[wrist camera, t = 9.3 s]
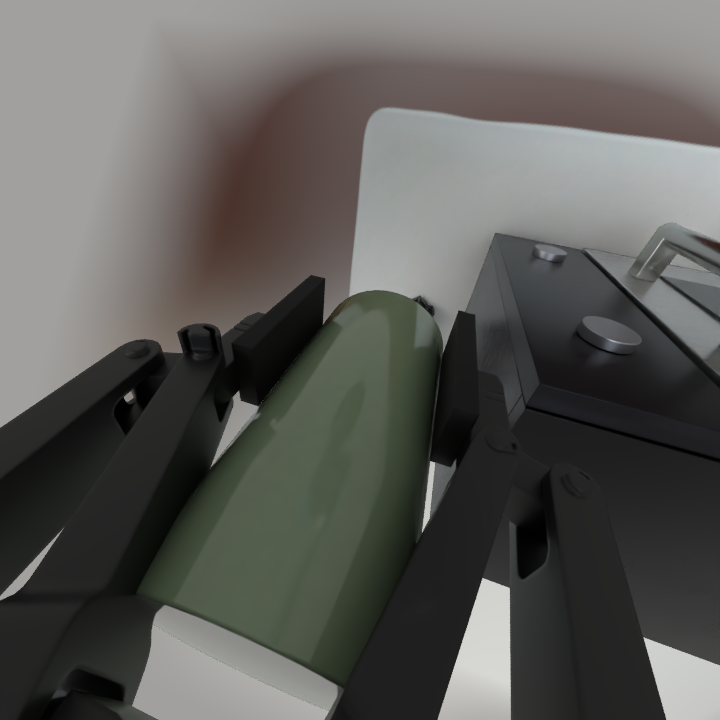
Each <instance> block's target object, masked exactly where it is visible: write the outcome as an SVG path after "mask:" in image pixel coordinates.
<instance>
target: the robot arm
mask: <svg viewBox="0 0 720 720" xmlns="http://www.w3.org/2000/svg"><path fill="white" fill-rule="evenodd" d="M324 290H325V278H321V277H317V276H313V275H311V276H310V277H308V278H307V279H306V280H305V281H304V282H302V283H301V284H300V285H299V286H298V287H297V288H295V289H294V290H293V291H292V292H291V293H289V294H288V295H287V296H286V297H285V298H284V299H283V300H281V301H280V302H279V303H278V304H277V305H275V306H274V307H273V308H272V309H271V310H270V311H268V312H267V313H266V314H263V313H259V312H257V313H255V314H252V315H250V316H247V317H246V318H244V319H243V320H242V321H241V322H240V323H239V324H237V325H236V326H234V328H233V329H231V330H229V331H228V332H227V333H225V334H224V335H223V336H222V337H221V334H220V331H219V329H218V328H217V327H216V326H214V325H211V324H204V323H203V324H193V325H189V326H186V327H184V328H182V329H181V330H179V331H178V332H177V333H178V337H179V340H180V344H181V347H182V350H183V353H166V352H163V351H162V348H161V346H160V345H159V343H158V342H156V341H153V340H146V339H144V340H135V341H132V342H128V343H126V344H124V345H122V346H120V347H119V348H117V349H116V350H114V351H113V352H111V353H110V354H108V355H107V356H106V357H104V358H103V359H101V360H100V361H98V362H97V363H95V364H94V365H92V366H91V367H89V368H88V369H86V370H85V371H83V372H82V373H80V374H79V375H78V376H76V377H75V378H73V379H72V380H70V381H69V382H67V383H66V384H64V385H63V386H61V387H60V388H58V389H57V390H55V391H54V392H53V393H51V394H50V395H48V396H47V397H45V398H44V399H42V400H41V401H39V402H38V403H36V404H35V405H33V406H32V407H30V408H29V409H28V410H26V411H25V412H23V413H22V414H20V415H19V416H17V417H16V418H14V419H13V420H11V421H10V422H8V423H7V424H5V425H4V426H3V427H1V428H0V595H1V594H2V593H3V592H4V591H5V590H6V589H7V588H8V587H9V586H10V585H11V584H12V583H13V581H14V580H15V579H16V578H17V577H18V576H19V575H20V574H21V573H22V572H23V571H24V570H25V568H27V566H28V565H29V564H30V563H31V562H32V561H33V560H34V559H35V558H36V557H37V556H38V555H39V554H40V552H41V551H42V550H43V549H44V548H45V547H46V546H47V545H48V544H49V543H50V542H51V541H52V540H53V539H54V538H55V537H56V535H57V534H58V533H59V532H60V531H61V530H62V529H63V528H64V529H63V530H62V532H61V533H60V535H59V536H58V538H57V539H56V541H55V542H54V544H53V545H52V547H51V548H50V550H49V551H48V552H47V554H46V555H45V557H44V558H43V560H42V562H41V563H40V564H39V566H38V567H37V569H36V570H35V572H34V573H33V575H32V576H31V577H30V579H29V580H28V581H27V583H26V584H25V585H24V586H23V587H22V588H21V589H20V590H19V591H18V592H16V593H15V594H14V595H11V596H9V597H7V598H5V599H3V600H0V720H157V719H156V718H154V717H152V716H150V715H148V714H146V713H144V712H142V711H140V710H138V709H136V708H134V707H132V704H133V701H134V698H135V696H136V693H137V690H138V687H139V684H140V682H141V679H142V676H143V673H144V670H145V667H146V664H147V660H148V657H149V653H150V647H151V629H152V625H153V621H154V618H155V615H156V612H154V611H153V610H152V609H151V608H150V607H149V606H148V605H147V604H145V603H144V602H143V601H142V600H141V599H140V598H139V597H138V596H137V594H136V593H137V590H138V587H139V586H140V584H141V582H142V580H143V578H144V576H145V574H146V572H147V570H148V569H149V567H150V565H151V563H152V561H153V560H154V558H155V556H156V554H157V552H158V551H159V549H160V547H161V545H162V543H163V542H164V540H165V538H166V536H167V534H168V533H169V531H170V529H171V527H172V525H173V524H174V522H175V520H176V519H177V517H178V516H179V514H180V512H181V511H182V509H183V507H184V506H185V504H186V502H187V501H188V499H189V497H190V496H191V494H192V493H193V491H194V490H195V489H196V487H197V486H198V484H199V483H200V481H201V480H202V479H203V477H204V476H205V474H206V473H207V472H208V471H209V469H210V467H211V465H212V461H213V459H214V456H215V454H216V451H217V448H218V446H219V443H220V440H221V438H222V435H223V432H224V430H225V427H226V424H227V422H228V419H229V416H230V413H231V411H232V408H233V396H234V395H235V394H236V393H237V392H238V391H239V392H240V398H241V401H244V402H247V403H250V404H253V405H257V406H259V405H260V404H261V403H262V401H263V400H264V399H265V398H266V396H267V395H268V394H269V392H270V391H271V390H272V389H273V387H274V386H275V385H276V384H277V382H278V381H279V380H280V379H281V377H282V376H283V375H284V373H285V372H286V371H287V370H288V368H289V367H290V366H291V365H292V363H293V362H294V361H295V360H296V358H297V357H298V356H299V354H300V353H301V352H302V351H303V349H304V348H305V347H306V346H307V344H308V343H309V342H310V341H311V339H312V338H313V337H314V335H315V334H316V333H317V332H318V330H319V329H320V328H321V327H322V325H323V309H324ZM130 391H131V392H132V394H133V397H134V398H133V399H132V400H130V401H129V402H126V401H125V399H124V396H125V395H126V394H127V393H129V392H130ZM504 395H505V393H504V386H503V384H502V382H501V381H500V379H499V378H498V376H497V375H495V374H491V373H487V372H483V371H480V370H478V364H477V342H476V320H475V314H471V313H467V312H463V311H458V314H457V317H456V320H455V322H454V325H453V328H452V331H451V333H450V336H449V339H448V341H447V344H446V347H445V350H444V352H443V355H442V360H441V368H440V377H439V385H438V393H437V402H436V410H435V419H434V427H433V435H432V444H431V452H430V460H429V461H432V462H435V463H438V464H441V465H445V466H448V467H452V465H453V463H454V461H455V459H456V468H455V471H454V473H453V475H452V477H451V479H450V480H449V482H448V484H447V486H446V487H445V490H444V492H443V494H442V496H441V498H440V500H439V502H438V504H437V506H436V508H435V509H434V511H433V513H432V515H431V517H430V519H429V521H428V523H427V525H426V527H425V529H424V531H423V532H422V534H421V536H420V538H419V540H418V542H417V544H416V546H415V548H414V550H413V552H412V554H411V556H410V558H409V560H408V562H407V564H406V566H405V568H404V570H403V572H402V574H401V576H400V578H399V580H398V582H397V584H396V586H395V588H394V590H393V592H392V594H391V596H390V598H389V600H388V602H387V604H386V606H385V608H384V610H383V611H382V613H381V615H380V617H379V619H378V621H377V623H376V625H375V627H374V629H373V631H372V633H371V635H370V637H369V639H368V641H367V643H366V645H365V647H364V649H363V651H362V653H361V655H360V657H359V659H358V661H357V663H356V664H355V666H354V668H353V670H352V672H351V674H350V676H349V678H348V680H347V682H346V684H345V686H344V688H343V689H342V691H341V692H340V693H339V694H338V696H337V698H336V700H335V701H334V703H333V705H332V707H331V709H330V711H329V713H328V715H327V716H326V718H325V720H437V719H438V716H439V713H440V709H441V706H442V703H443V700H444V697H445V693H446V691H447V688H448V684H449V681H450V678H451V675H452V672H453V669H454V665H455V662H456V659H457V656H458V653H459V650H460V646H461V643H462V640H463V637H464V633H465V631H466V628H467V625H468V622H469V618H470V615H471V612H472V609H473V606H474V602H475V600H476V596H477V593H478V590H479V587H480V584H481V581H482V578H483V574H484V571H485V568H486V565H487V562H488V559H489V556H490V552H491V549H492V546H493V543H494V540H495V537H496V534H497V530H498V527H499V524H500V521H501V518H502V516H503V517H504V518H506V519H507V520H509V527H510V640H511V641H510V653H511V720H666V717H665V713H664V710H663V706H662V703H661V699H660V696H659V692H658V689H657V685H656V682H655V678H654V675H653V671H652V667H651V663H650V660H649V656H648V653H647V649H646V646H645V642H644V639H643V635H642V631H641V628H640V624H639V621H638V617H637V613H636V610H635V606H634V603H633V599H632V596H631V592H630V588H629V585H628V581H627V578H626V574H625V570H624V567H623V563H622V560H621V556H620V553H619V549H618V545H617V542H616V538H615V535H614V531H613V528H612V524H611V520H610V517H609V513H608V510H607V506H606V503H605V499H604V495H603V493H602V491H601V489H600V487H599V485H598V484H597V483H596V482H595V481H594V479H593V478H592V477H591V476H590V475H588V474H587V473H586V472H584V471H583V470H582V469H580V468H578V467H576V466H574V465H571V464H566V463H558V464H555V465H554V466H553V467H552V468H549V467H547V466H545V465H543V464H542V463H540V462H538V461H536V460H534V459H533V458H531V457H530V456H528V455H527V454H525V453H524V452H523V451H522V447H521V445H520V443H519V441H518V439H517V438H516V437H515V436H514V435H513V434H512V433H510V427H509V420H508V413H507V406H506V404H505V403H506V400H505V396H504Z"/></svg>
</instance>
